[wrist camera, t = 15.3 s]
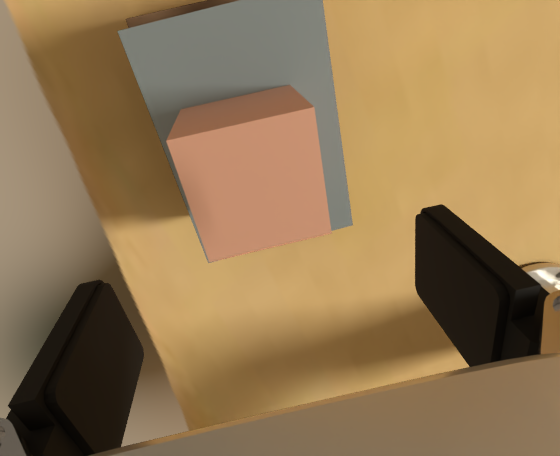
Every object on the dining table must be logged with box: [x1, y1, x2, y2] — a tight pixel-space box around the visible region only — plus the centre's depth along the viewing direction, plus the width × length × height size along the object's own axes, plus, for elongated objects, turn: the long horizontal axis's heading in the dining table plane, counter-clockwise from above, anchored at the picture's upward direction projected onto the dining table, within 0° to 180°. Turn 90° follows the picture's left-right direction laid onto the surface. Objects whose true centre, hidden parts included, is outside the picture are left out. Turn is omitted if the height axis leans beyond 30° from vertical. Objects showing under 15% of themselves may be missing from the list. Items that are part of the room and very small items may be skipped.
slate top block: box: [118, 0, 353, 263], centre depth 23 cm, size 10×14×4 cm
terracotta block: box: [166, 85, 332, 262], centre depth 19 cm, size 6×6×6 cm
